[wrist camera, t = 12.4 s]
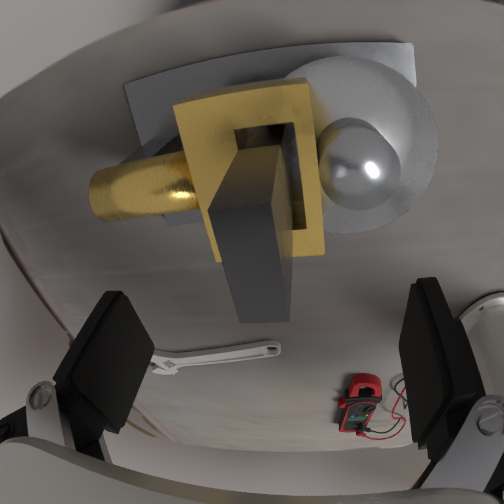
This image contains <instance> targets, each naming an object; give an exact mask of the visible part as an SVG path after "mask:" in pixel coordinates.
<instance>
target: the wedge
mask: <svg viewBox="0 0 504 504" xmlns="http://www.w3.org/2000/svg"><path fill="white" fill-rule="evenodd" d="M207 211H208V214H209V218H210V222H211V225H212V229H213V232H214V236H215V239H216V243H217V246H218V250H219V253H220V257H221V260H222V264H223V267H224V270H225V274H226V277H227V281H228V284H229V287H230V291H231V294H232V297H233V301H234V304H235V307H236V311H237V314H238V317H239V320H240V323H261V322H288V321H289V320H290V301H291V279H292V253H293V233H292V223H293V178H292V170H291V163H290V156H289V149H288V142H287V135H286V129H285V124H280V125H272V126H264V127H256V128H254V129H253V131H252V133H251V135H250V137H249V139H248V141H247V144H246V146H245V148H244V149H242V150H238V151H237V153H236V155H235V157H234V159H233V161H232V163H231V164H230V166H229V168H228V170H227V172H226V174H225V176H224V178H223V180H222V182H221V184H220V186H219V188H218V190H217V192H216V194H215V196H214V198H213V200H212V202H211V204H210V206H209V208H208V210H207Z"/></svg>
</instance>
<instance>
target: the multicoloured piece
mask: <svg viewBox="0 0 504 504" xmlns="http://www.w3.org/2000/svg"><path fill="white" fill-rule="evenodd" d="M124 86H125V90H126V94H127V97H128V101H129V105H130V108H131V112H132V115H133V119H134V122H135V126H136V129H137V133H138V136H139V139H140V143H141V147H140V148H139V149H138V150H136V151H135V152H134V153H132V154H131V155H130V156H129V157H127V158H126V159H125V160H124V161H122V162H121V163H120V164H119V165H116V166H112V167H108V168H104V169H101V170H98V171H96V172H95V173H94V175H93V176H92V178H91V180H90V184H89V201H90V205H91V208H92V210H93V212H94V214H95V215H96V216H97V217H98V218H99V219H100V220H101V221H103V222H111V221H118V220H124V219H131V218H138V217H145V216H152V215H159V214H164V216H165V219H166V222H167V225H168V226H170V225H178V224H187V223H196V222H204V223H205V226H206V229H207V233H208V236H209V240H210V243H211V246H212V250H213V253H214V256H215V260H216V262H222V260H221V257H220V253H219V250H218V246H217V243H216V239H215V236H214V232H213V229H212V225H211V222H210V218H209V214H208V211H207V210H208V208H209V206H210V204H211V202H212V200H213V198H214V196H215V194H216V192H217V190H218V188H219V186H220V184H221V182H222V180H223V178H224V176H225V174H226V172H227V170H228V168H229V166H230V164H231V163H232V161H233V159H234V157H235V155H236V153H237V151H238V150H242V149H244V148H245V146H246V144H247V141H248V139H249V137H250V135H251V133H252V131H253V129H254V128H256V127H264V126H272V125H280V124H285V129H286V135H287V142H288V149H289V156H290V163H291V170H292V178H293V223H292V233H293V253H292V257H298V256H312V255H325V247H324V231H326V232H331V233H340V234H354V233H361V232H367V231H371V230H375V229H378V228H380V227H383V226H385V225H387V224H389V223H391V222H393V221H395V220H397V219H398V218H400V217H401V216H403V215H404V214H405V213H406V212H408V211H409V210H410V209H411V208H412V207H413V206H414V205H415V204H416V203H417V202H418V201H419V199H420V198H421V197H422V195H423V194H424V192H425V191H426V189H427V187H428V185H429V183H430V182H431V179H432V176H433V174H434V171H435V167H436V163H437V156H438V135H437V129H436V125H435V121H434V118H433V115H432V113H431V111H430V108H429V106H428V104H427V103H426V101H425V99H424V98H423V96H422V95H421V93H420V92H419V91H418V90H417V88H416V73H415V61H414V51H413V44H409V43H387V42H349V43H326V44H312V45H300V46H291V47H282V48H274V49H267V50H260V51H254V52H248V53H242V54H236V55H231V56H226V57H221V58H216V59H212V60H207V61H203V62H199V63H195V64H191V65H187V66H183V67H179V68H175V69H172V70H168V71H165V72H161V73H158V74H155V75H151V76H148V77H145V78H142V79H139V80H136V81H133V82H130V83H127V84H124Z"/></svg>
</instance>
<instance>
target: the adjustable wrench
mask: <svg viewBox="0 0 504 504" xmlns="http://www.w3.org/2000/svg"><path fill="white" fill-rule="evenodd" d="M269 346H273V347H276V348H277V349H273V350H272V349H268V348H267V347H269ZM280 352H281V344H280V343H279V342H277V341H275V340H268V341H262V342H256V343H249V344H243V345H236V346H230V347H223V348H215V349H208V350H200V351H192V352H183V353H172V352H165V351H160V350H156V349H154V353H153V356H152V358H151V362H154V363H155V364H156V365H154V366H153V369H152V372H154V373H157V374H164V375H166V374H173V375H175V373H176V372H178V370H179V367H182V366H191V365H203V364H214V363H224V362H233V361H241V360H250V359H258V358H265V357H272V356H277V355H279V354H280Z"/></svg>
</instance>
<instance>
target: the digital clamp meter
mask: <svg viewBox="0 0 504 504" xmlns="http://www.w3.org/2000/svg"><path fill="white" fill-rule="evenodd" d="M402 380H404V378H403V379H401V380H400V381H398V382H397V383H396V385H395V387H394V390H395V392H396V393H397V394H398V395H399V398H398V400H397V402H396V404H395V406H394V408H393V411H392V418H393V419H399V420H398V422H399V421H400V419H404V420H405V422H404V425H405V423H406V419H405V418H402V417H401V418H396V417H393V412H394V409H395V407H396V405H397V403H398V401H399V399H400V397H401V398H403V399H404V400H405V401H406V402H407V404H406V406H405V408H404V409H406V407H407V405H408V401H407V400H406V399H405V398H404V397H403V396H402V394H403V392H404V390H405V389H406V388H405V387H404V389H403V390H402V392H401V394H399V393H398V392H397V391H396V386H397V384H398V383H399V382H401V381H402ZM361 386H366V387H371V388H362V389H359V388H360V387H361ZM380 401H382V387H381V381H380V379H379V378H378V377H377V376H375V375H372V374H366V373H361V374H356V375H354V376H353V378H352V381H351V384H350V387H349V390H345V397H343V398H341V399H340V400H338V407H340V408H344V409H343V412H342V415H341V418H340V421H339V431H340V432H356V435H357V436H362V437H367V438H369V437H368V436H366V434H365V433H364V431H366V432H376V431H372V430H371V429H370V428H367V427H366V426H367V424H368V422H369V420H370V418H371V416H372V414H373V412H374V410H375V409H376V404H377V403H380ZM409 420H410V419H409ZM398 422H397V423H398ZM397 423H396V424H395V425H394V427H395V426H396V425H397ZM404 425H403V426H402V428H403V427H404ZM394 427H393V428H394ZM393 428H391V429H390V430H389V431H391V430H392V429H393ZM402 428H401V429H400V430H399V432H400V431H401V430H402ZM389 431H386V432H376V433H387V432H389ZM399 432H397V433H396V434H398V433H399ZM396 434H394V435H393V436H395V435H396ZM393 436H390V437H388V438H391V437H393ZM388 438H382V439H375V438H369V439H373V440H383V439H388Z"/></svg>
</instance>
